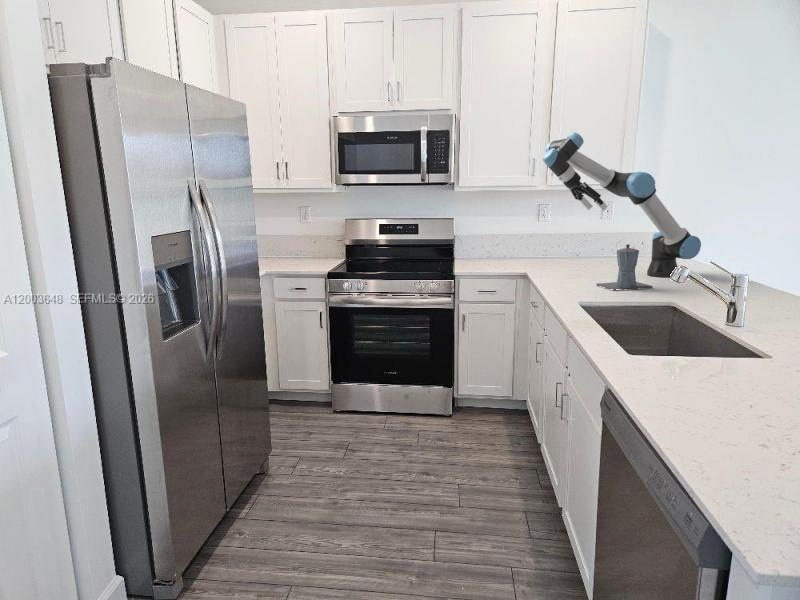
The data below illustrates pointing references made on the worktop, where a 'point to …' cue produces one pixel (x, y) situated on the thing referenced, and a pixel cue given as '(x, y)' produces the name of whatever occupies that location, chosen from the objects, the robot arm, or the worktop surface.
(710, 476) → the worktop surface
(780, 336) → the worktop surface
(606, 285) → the charcoal mat
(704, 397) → the worktop surface
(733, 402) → the worktop surface
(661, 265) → the robot arm
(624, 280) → the moka pot
